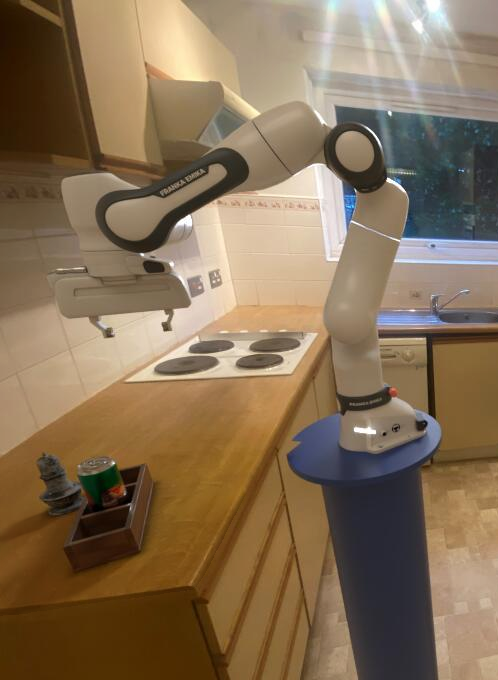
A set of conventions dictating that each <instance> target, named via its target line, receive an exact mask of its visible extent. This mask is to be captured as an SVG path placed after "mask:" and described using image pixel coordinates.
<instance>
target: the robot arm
mask: <svg viewBox="0 0 498 680" xmlns="http://www.w3.org/2000/svg"><path fill="white" fill-rule="evenodd" d="M385 158H386V157H385V152H384V149H383V146H382V144H381V141H380V140H379V138H378V137H377V135H376V134H375V133H374V131H373V130H371V129H370V128H369V127H368V126H366V125H364V124H362V123H360V122H357V121H343V122H340V123H338V124H336V125H335V126H330V125H328V123H326V122H325V121H324V119H323V117H322V116H321V114H320V113H319V112H318V111H317V110H316V109H315V108H314V107H312V106H311V105H310V104H308V103H306V102H304V101H302V100H293V101H290V102H287V103H283V104H280V105H278V106H274V107H273V108H271V109H268V110H266V111H264V112H262V113H260V114H258V115H257V116H255V117H253V118H251V119H250V120H248V121H246V122H245V123H244V124H242V125H241V126H239V127H238V128H236V129H235V130H234V131H232V132H231V133H230V134H229V135H228V136H226V137H225V138H224V139H222V140H221V141H220V142H219V143H217V144H216V145H215V146H214V147H212V148H211V149H210V150H208V151H206V153H204V154H202V156H200V157H199V158H197V159H195V160H193V161H192V162H190V163H188V164H186V165H184V166H183V167H181V168H179V169H177V170H176V171H173V172H171V173H170V174H168V175H166V176H165V177H162V178H161V179H159V180H157V181H155V182H153V183H152V184H149V185H147V186H144V187H139V186H137V185H134V184H131V183H129V182H127V181H125V180H123V179H120V177H118V176H116V175H115V174H113V173H111V172H108V171H83V172H78V173H71V174H69V175H66V176H65V177H64V178H63V179H62V180H61V185H60V189H61V196H62V200H63V204H64V208H65V211H66V215H67V217H68V220H69V223H70V225H71V228H72V229H73V230H74V231H75V233H76V235H77V237H78V241H79V246H78V247H79V251H80V254H81V257H82V259H83V262H84V265H83V266H72V267H55V268H54V269H52V270H51V271H49V272H48V273H47V274H46V281H47V284H48V287H49V288H50V289H51V291H53V292H54V293H55V299H56V304H57V307H58V310H59V313H60V315H61V316H62V317H65V318H66V319H69V320H71V319H82V318H83V319H84V318H88V321H89V323H90V324H91V325H93V327H95V328H97V329H98V330H99V331H101V334H102V336H103V338H104V339H113V338H115V337H116V334H115V332H114V328H113V327H112V326H111V327H107V326H106V325H105V324H103V323H102V322H101V320H102V317H103V316H114V315H116V316H117V315H125V314H135V313H136V314H137V313H147V312H154V311H155V312H156V311H157V312H158V311H159V312H160V311H163V312H164V315H165V316H167V319H166V321H161V323H160V325H161V327H162V331H163V333H165V332H173V330H174V329H173V325H172V321H173V318H174V315H175V310H180V309H188V308H190V306H191V305H192V304H193V300H192V296H191V294H190V291H189V289H188V287H187V284H186V282H185V280H184V278H183V276H182V275H180V273H178V272H177V271H175V263H174V261H173V260H172V259H170V258H166V257H160V256H156V255H150V254H148V253H152V252H154V251H156V250H159V249H162V248H166V247H171V246H175V245H177V244H178V245H179V244H180V243H182V242H184V241H185V240H187V239H188V238H189V237H190V236H191V234H192V232H193V229H194V223H193V218H192V214H194V213H196V212H197V211H199V210H201V209H202V208H204V207H206V206H207V205H209V204H211V203H212V202H215V201H216V200H219V199H221V198H223V197H226V196H230V195H233V194H238V193H246V192H259V191H264V190H267V189H270V188H272V187H275V186H278V185H280V184H282V183H284V182H287V181H289V180H290V179H292V178H294V177H295V176H296V175H298V174H300V173H301V172H302V171H304V170H306V169H308V168H310V167H312V166H315V165H323V166H325V167H326V168H327V169H328V170H329V171H330V172H332V173H333V174H334V175H335V176H336V178H338V179H339V180H340V181H341V182H343V183H345V184H347V185H349V186H350V187H352V188H353V189H354V191H355V196H356V200H355V204H354V205H355V206H354V210H353V213H352V216H351V219H350V221H349V225H348V229H347V233H346V236H345V239H344V242H343V246H342V249H341V252H340V257H339V259H338V261H337V265H336V268H335V271H334V274H333V277H332V280H331V282H330V287H329V290H328V293H327V295H326V296H327V297H326V299H325V303H324V307H323V308H322V313H321V315H322V318H321V319H322V323H323V326H324V328H325V330H326V332H327V334H328V335H329V336H330V340H331V352H332V354H331V355H332V366H333V371H334V378H335V385H336V390H335V401H336V407H337V411H338V413H340V435H339V440H338V443H339V445H340V446H341V447H342V448H344V449H346V450H350V451H358V452H368V453H372V454H379V453H381V452H384V451H387V450H389V449H392V448H394V447H397V446H399V445H402V444H404V443H407V442H409V441H412V440H414V439H417V438H420V437H422V436H424V435H426V434H427V425H428V422H427V421H426V420H424V419H423V415H422V413H415V412H414V410H413V409H414V408H413V406H411V404H409V403H408V402H406V401H404V400H403V399H400V398H399V397H398V395H399V392H398V390H397V389H396V388H394V387H392V385H390V384H388V383H386V382H385V381H384V375H383V367H382V358H381V348H380V338H379V330H378V316H379V312H380V309H381V306H382V302H383V300H384V296H385V292H386V288H387V285H388V281H389V278H390V274H391V272H392V269H393V266H394V262H395V260H396V257H397V253H398V250H399V247H400V244H401V241H402V239H403V235H404V232H405V227H406V223H407V218H408V213H409V205H410V199H409V196H408V193H407V192H406V190H405V189H404V187H403V186H402V185H400V184H399V183H397V182H396V181H394V180H392V179H391V178H389V174H388V169H387V165H386V159H385Z"/></svg>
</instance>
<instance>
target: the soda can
mask: <svg viewBox="0 0 498 680" xmlns="http://www.w3.org/2000/svg"><path fill="white" fill-rule="evenodd" d="M76 468H77V469H76V470H77V471H76V476H77V479H78V482H80V483H81V485H82V487H81V488H82V490H83V492H84V495H85V494H86V496H87V499H88V501H89V503H90V505H91V508H92V510H93V512H94V513H95V512H99V511H103V510H107V509H111V508H114V507H118V506H122V505H126V504H130V503H131V499H130V497H129V494H128V492H127V489H126V487H125V484H124V482H123V479H122V477H121V474H120V472H119V469H120V468H119V467H118V464H117V462H116V461H115V460H114V459H112V458H111V457H110V456H109V455H99V456H94V457H91V458H88V459H86V460H83V461H82V462H80V463H79V464H78V465H77V467H76Z"/></svg>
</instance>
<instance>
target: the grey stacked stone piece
mask: <svg viewBox="0 0 498 680" xmlns="http://www.w3.org/2000/svg"><path fill="white" fill-rule="evenodd" d="M40 455H41V456H40V457H39V458H38V459H36V462H35V464H36V466H37V469H38V471H39V473H40V476H39V479H40V480H42V481H43V483H44V485H45V488H46V490H44V491H42V492H41V493H40V495H39V496H38V499H39V501H42V502H43V503H44V504H46V505H47V506H49V507H50V509H49V510H48V514H49V515H51V516H61V515H67V514H69V513H72V512H74V511H76V510H79V508H80V506H81V503H82V501H83V499H84V496H81V495H82V492H83V491H82V490H83V488H82V485H81V483H80V481H71V480H70V479H69V478H68V476H67V474H66V472H67V468H64V467H63V466H62V464H61V462H60V460H59V458H58V456H57V455H54V454H48V453H46V452H44V451H43V452H41V454H40Z"/></svg>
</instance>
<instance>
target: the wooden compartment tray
mask: <svg viewBox="0 0 498 680" xmlns="http://www.w3.org/2000/svg"><path fill="white" fill-rule="evenodd" d="M118 469H119V472H120V474H121V477H122V479H123V482H124V484H125V487H126V489H127V492H128V494H129V497H130V499H131V503H130V504H126V505H122V506H118V507H114V508H111V509H107V510H103V511H99V512H95V513H94V512H93V510H92V508H91V505H90V503H89V501H88V499H87V496H86V494H85V493H84V496H83V497H84V499H83V501H82V503H81V506H80V508H78V509H77V510H78V511H77V513H76V515H75V517H74V520H73V522H72V525H71V527H70V529H69V532H68V534H67V536H66V539H65V541H64V544H63V546H62V549H63V551H64V553H65V555H66V557H67V560H68V562H69V563H70V565H71V567H72V570H73V572H74V573H78V572H81V571H84V570H87V569H92V568H95V567H97V566H101V565H103V564H107V563H111V562H114V561H116V560H120V559H124V558H127V557H129V556H133V555H136V554H138V553H139V554H140V553H141V550H142V546H143V540H144V536H145V530H146V524H147V520H148V515H149V509H150V504H151V500H152V495H153V489H154V486H155V485H154V484H155V483H154V481H153V477H152V475H151V472H150V470H149V467H148V464H147V462H144V463H140V464H135V465H132V466H127V467H123V468H118Z"/></svg>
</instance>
